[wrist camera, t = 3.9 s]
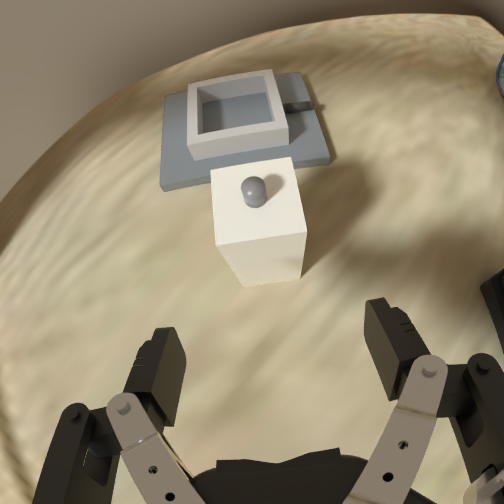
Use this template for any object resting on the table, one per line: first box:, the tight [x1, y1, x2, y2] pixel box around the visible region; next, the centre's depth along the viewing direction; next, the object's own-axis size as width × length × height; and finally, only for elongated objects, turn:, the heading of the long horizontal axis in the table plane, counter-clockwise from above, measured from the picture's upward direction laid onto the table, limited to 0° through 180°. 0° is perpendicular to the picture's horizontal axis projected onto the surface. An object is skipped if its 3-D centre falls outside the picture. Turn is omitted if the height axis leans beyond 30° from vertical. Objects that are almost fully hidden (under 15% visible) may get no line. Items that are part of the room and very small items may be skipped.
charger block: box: [210, 157, 307, 287], centre depth 20 cm, size 5×5×11 cm
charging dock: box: [160, 69, 330, 192], centre depth 28 cm, size 16×13×4 cm
